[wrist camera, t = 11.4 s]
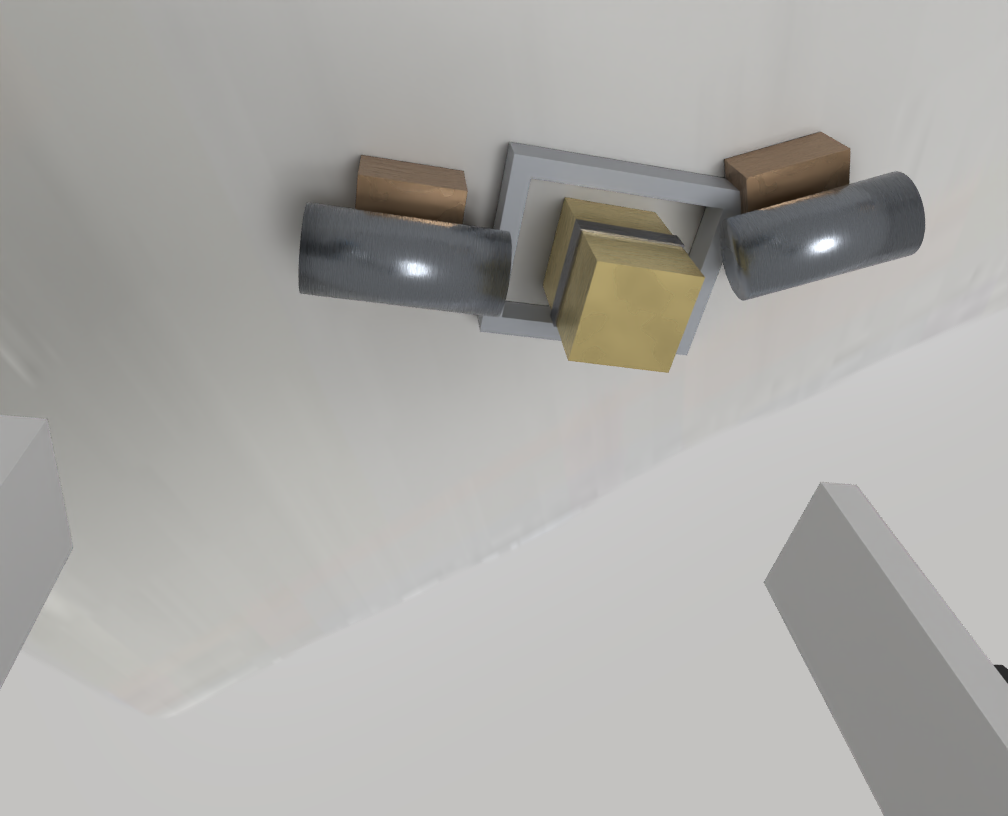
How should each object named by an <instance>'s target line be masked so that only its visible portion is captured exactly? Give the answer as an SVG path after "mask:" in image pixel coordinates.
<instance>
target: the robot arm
mask: <svg viewBox="0 0 1008 816" xmlns="http://www.w3.org/2000/svg"><path fill="white" fill-rule="evenodd" d="M72 549H73V543H72V538H71V533H70V528H69V523H68V518H67V513H66V508H65V503H64V498H63V493H62V488H61V483H60V478H59V473H58V469H57V464H56V459H55V454H54V449H53V444H52V439H51V434H50V429H49V424H48V419H46V418H34V417H21V416H9V415H0V689H1V687H2V685H3V683H4V681H5V679H6V677H7V675H8V673H9V671H10V669H11V667H12V665H13V664H14V661H15V660H16V658H17V656H18V654H19V652H20V650H21V648H22V646H23V644H24V642H25V640H26V638H27V636H28V634H29V632H30V631H31V629H32V627H33V625H34V623H35V621H36V619H37V617H38V615H39V613H40V611H41V609H42V607H43V605H44V603H45V601H46V599H47V597H48V596H49V594H50V592H51V590H52V588H53V586H54V584H55V582H56V580H57V578H58V576H59V574H60V572H61V570H62V568H63V566H64V564H65V562H66V561H67V559H68V557H69V555H70V553H71V551H72ZM764 584H765V586H766V587H767V589H768V591H769V593H770V595H771V597H772V599H773V601H774V603H775V605H776V607H777V609H778V611H779V613H780V615H781V617H782V619H783V621H784V623H785V624H786V626H787V628H788V630H789V632H790V634H791V636H792V638H793V640H794V642H795V644H796V646H797V648H798V650H799V652H800V654H801V656H802V657H803V659H804V661H805V663H806V665H807V667H808V669H809V671H810V673H811V675H812V677H813V679H814V681H815V683H816V685H817V687H818V688H819V691H820V692H821V694H822V696H823V698H824V700H825V702H826V704H827V706H828V708H829V710H830V712H831V714H832V716H833V718H834V720H835V722H836V724H837V726H838V727H839V729H840V731H841V733H842V735H843V737H844V739H845V741H846V743H847V745H848V747H849V748H850V751H851V753H852V755H853V757H854V759H855V761H856V762H857V764H858V766H859V768H860V770H861V772H862V774H863V776H864V778H865V780H866V782H867V784H868V785H869V788H870V790H871V792H872V794H873V795H874V797H875V799H876V801H877V803H878V805H879V807H880V809H881V811H882V813H883V815H884V816H1008V669H1007V668H1005V667H1004V666H1003V665H993V664H992V663H991V661H990V660H989V659H988V657H987V656H986V655H985V654H984V652H983V651H982V650H981V648H980V647H979V646H978V644H977V643H976V642H975V640H974V639H973V638H972V636H971V635H970V634H969V632H968V631H967V630H966V628H965V627H964V626H963V624H962V623H961V622H960V620H959V619H958V618H957V617H956V615H955V614H954V612H953V611H952V610H951V609H950V607H949V606H948V605H947V603H946V602H945V601H944V599H943V598H942V597H941V595H940V594H939V593H938V591H937V590H936V589H935V587H934V586H933V585H932V583H931V582H930V581H929V579H928V578H927V577H926V575H925V574H924V573H923V572H922V570H921V569H920V568H919V566H918V565H917V564H916V562H915V561H914V560H913V558H912V557H911V556H910V554H909V553H908V552H907V550H906V549H905V548H904V546H903V545H902V544H901V543H900V541H899V540H898V538H897V537H896V536H895V535H894V534H893V532H892V531H891V529H890V528H889V527H888V526H887V524H886V523H885V522H884V520H883V519H882V517H880V515H879V513H878V512H877V511H876V509H875V508H874V507H873V505H872V504H871V503H870V502H869V500H868V499H867V498H866V496H865V495H864V494H863V492H862V491H861V490H860V488H859V487H858V486H857V485H852V484H839V483H827V482H820V484H819V486H818V488H817V489H816V491H815V493H814V495H813V496H812V498H811V500H810V502H809V504H808V505H807V507H806V509H805V510H804V512H803V514H802V516H801V517H800V520H799V521H798V523H797V525H796V526H795V528H794V530H793V532H792V533H791V535H790V537H789V539H788V540H787V542H786V544H785V546H784V547H783V549H782V551H781V553H780V555H779V556H778V558H777V560H776V562H775V563H774V565H773V567H772V569H771V570H770V572H769V574H768V576H767V578H766V579H765V581H764Z"/></svg>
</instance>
